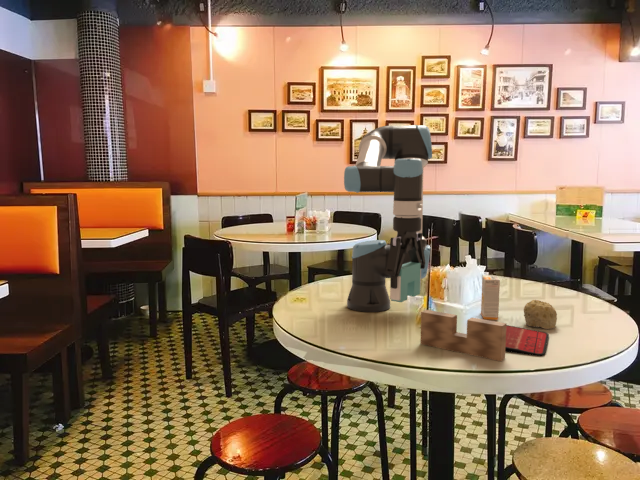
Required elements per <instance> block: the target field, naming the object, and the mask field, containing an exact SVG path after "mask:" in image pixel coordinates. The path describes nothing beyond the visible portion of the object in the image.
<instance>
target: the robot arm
mask: <svg viewBox="0 0 640 480" xmlns="http://www.w3.org/2000/svg"><path fill="white" fill-rule="evenodd" d="M432 147H433V145H432V135H431V130H430V128H429V127H428V125H420V124H418V125H417V124H412V125H411V124H410V125H408V124H407V125H383V126H380V127H379V126H378V127H377V128H375V129H373V130H371V131H369V132H368V133H366V134H365V135H364V136H363V137H362V138H361V140H360V143H359V146H358V153H359V154H358V157H357V160H356V163H355V165H351V166H346V167H345V169H344V172H343V185H344V189H345V191H347V193H349V192H350V193H358V194H359V193H393V206H392V208H393V209H392V214H393V215H394V217H393V219H392V221H393V222H392V230H394V231H395V232H396V235H395V236H394V237H390V240H389V241H390V242H389V244H387V242H386V240H385V239H374V240H373V239H372V240H366V241H360V242H358V243H355V244H354V245H353V246H352V254H351V259H352V263H351V264H352V266H351V268H352V270H351V271H352V272H351V287H350V290H349V293H348V295H347V296H348V297H347V299H346V307H347V308H348V309H350V310H352V311H356V312H365V313H376V312H377V313H378V312H383V311H388V310H389V309H390V308H391V299H392V300H398V301H400V296H401V276H399V273H400V269H401V267H402V264H406V263H409V262H416V263H421V269H420V292H421V288H422V282H421V281H422V279H425V278H426V277H427V274H428V268H429V264H430V255H431V249H432V246H431V245H429V244H427V239H426V237H425V236H423V217H424V216H423V214H424V213H423V211H424V210H423V209H424V208H423V207H424V205H423V204H424V168H425V167H426V166H427V165H428V164H429V160H430V159H432V158H433V148H432ZM382 160H394V163H393V165H381V163H382ZM430 246H431V247H430ZM386 279H390V280H389V281H390V287H389V288H390V290H389V291H390V292H388V289H387V286H386ZM389 295H390V296H389Z"/></svg>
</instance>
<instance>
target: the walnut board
mask: <svg viewBox="0 0 640 480" xmlns="http://www.w3.org/2000/svg"><path fill="white" fill-rule="evenodd" d="M506 325H508V323H506V322H501V321H496V320H488V319H483V318H476V317H470V318H468V319H467V321H466V333H464V332H459V331H457V329H458V328H457V327H458V314H453V313H446V312H442V311H435V310H431V309H425V310H422V311H421V312H420V345H423V346H429V347H433V348H437V349H442V350H447V351H451V352H456V353H459V354H460V353H461V354H465V355H470V356H475V357H478V358H483V359H489V360H492V361H493V360H494V361H497V362H502V361H503V360H505V359H506V352H505V347H506Z"/></svg>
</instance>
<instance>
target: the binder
mask: <svg viewBox="0 0 640 480" xmlns="http://www.w3.org/2000/svg"><path fill="white" fill-rule="evenodd" d="M549 337H550V334H549V333H548V332H546V331H541V330H535V329H530V328H529V329H528V328H525V327H519V326H513V325H510V324H506V347H505V353H511V354H519V355H527V356H533V357H544V356H546V352H547V346H548V344H549V343H548V341H549Z"/></svg>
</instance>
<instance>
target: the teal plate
mask: <svg viewBox="0 0 640 480" xmlns="http://www.w3.org/2000/svg"><path fill="white" fill-rule="evenodd" d="M420 269H421V263H416V262H409V263H406V264H402V267H401V269H400V273H399V276H401V296H400V301H398V300H392V299H390V302H396V303H403V302H406V301H407V300H408V296H409V297H416V296H419V295H420V294H421V291H420Z"/></svg>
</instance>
